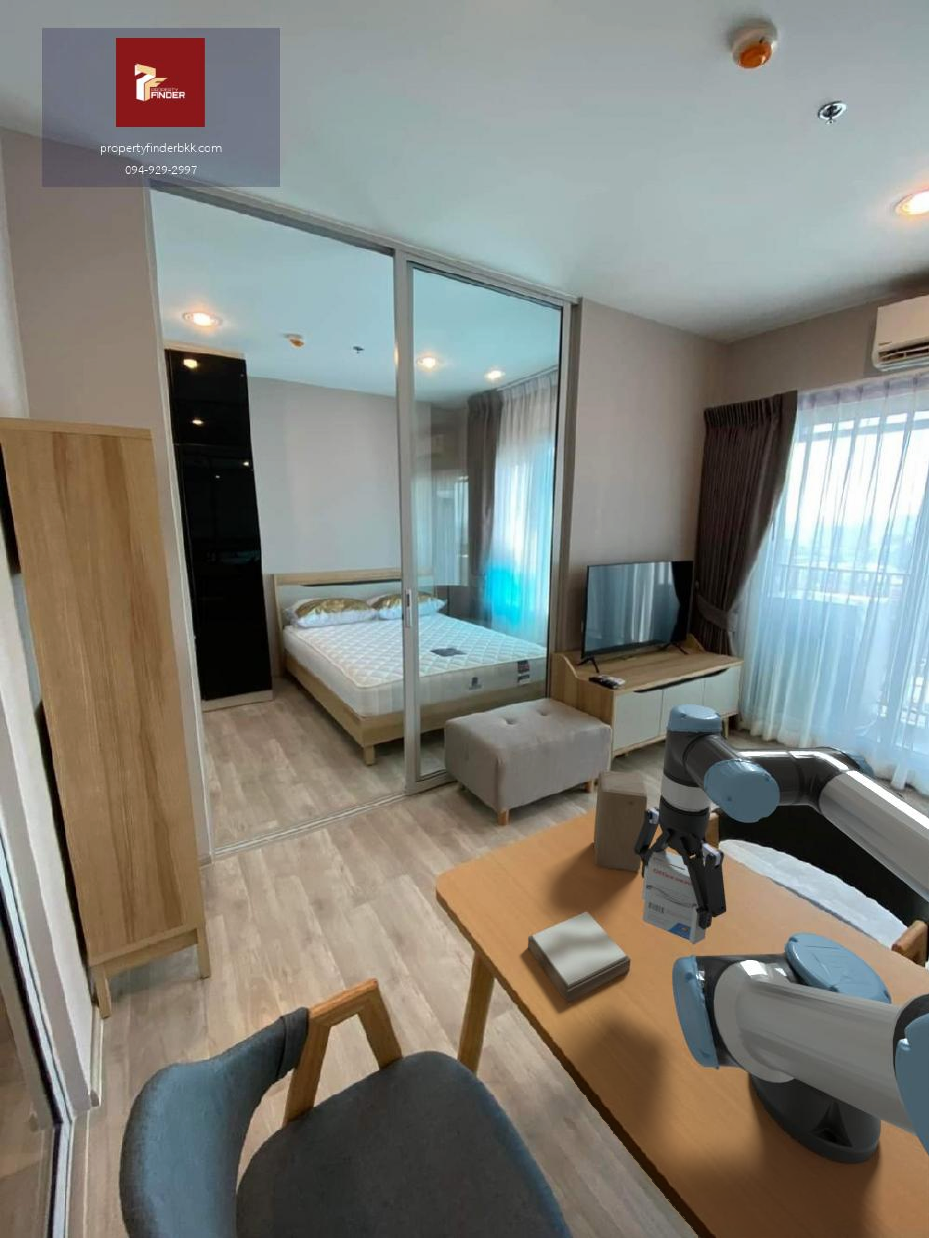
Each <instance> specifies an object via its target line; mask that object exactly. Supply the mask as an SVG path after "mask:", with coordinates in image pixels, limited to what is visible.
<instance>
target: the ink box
mask: <svg viewBox="0 0 929 1238" xmlns="http://www.w3.org/2000/svg"><path fill="white" fill-rule="evenodd" d="M704 866H705V864H704ZM696 905H698V904H697V900H696V896H695V893H694V889H693V886H692V882H691V879H690V875H689V872H688V868H687V866H686V865H684V863H683V859H682V856H681V855H679V854H676V853H672V852H670V851H667V850H665V851H664V850H662V851H660V852H657V853H656V852H653V853H652V855H651V857H650V860H649V862H648V873H647V883H646V893H645V900H644V904H643V915H642V921H643V922H644V923H647V924H648V925H651V926H654V927H656V928H658V929H660V930H664V931H666V932H667V933H670V934H673V935H675V936H678V937H680V938H682V939H686V940H687V941H689V939H690V931H691V923H692V915H693V907H694V906H696Z"/></svg>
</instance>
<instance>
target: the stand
mask: <svg viewBox="0 0 929 1238" xmlns="http://www.w3.org/2000/svg"><path fill="white" fill-rule="evenodd" d="M527 948H528V949H530V950H529V951H530V953H531V954H532V955H533V957H534V956H535V957H534V958H535V959H536V961H537V962H538V964H539V965H540V967H541V968H542V970H543V971H544V972H545V974H546V976H547V977H548V978H549V980H550V981H551V983H552V984H553V985H554V987H555V988H556V989H557V991H558V992H559V994H560V995H561V996H562V998H563V999H564V1002H565V1003H567V1004H568V1003H570V1002H572V1001H574V1000H575V999H578V998H579V997H582V996H583V995H585V994H587V993H589V992H591V991H592V990H595V989H596V988H599V987H601V986H602V985H604V984H607V983H608V982H609V981H612V980H614V979H616V978H618V977H619V976H621V975H623V974H625V973H627V972H629V971H630V968H631V961H632V960H631V958H630V957H629V956H628V955H627V954H626V952H625V951H624V950H623V949H622V948H621V947H620V946H619V945H618V944H617V942H616V941H614V939H613V938H612V937H611V936H610V935H609V934H608V933H607V932H606V931H605V930H604V928H603V927H602V926H601V925H600V924H599V923H598V922H597V920H595V919H594V918H593V916H592V915H591V914H590V913H589V912H588V910H587V911H584V912H582V913H579V914H577V915H575V916H572V917H570V918H569V919H566V920H564V921H562V922H559V923H557V924H555V925H552V926H550V927H548V928H545V929H543V930H541V931H539V932H536V933H533V934H531V935H529V936H528V939H527Z"/></svg>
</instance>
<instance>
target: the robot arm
mask: <svg viewBox="0 0 929 1238" xmlns="http://www.w3.org/2000/svg"><path fill="white" fill-rule="evenodd" d="M722 721H723V720H722V716H721V714H720V713H719V712H718V711H716V710H715V709H713V708H711V707H708V706H704V705H701V704H694V703H681V704H677V705H675V706H673V707H672V708H671V709H670V711H669V717H668V722H667V726H666V728H665V729H666V733H665V736H666V737H665V744H664V745H665V746H664V747H665V748H664V757H663V758H664V759H663V768H662V774H661V784H660V785H661V786H660V797H659V804H658V806H654V807H651V808H649V809H646V811H645V812H644V823H643V826H642V829H641V831H640V834H639V837H638V839H637V842H636V845H635V847H634V853H635V854H636V855H639V856H640V857H641V864H642V865H641V872H640V873H641V878H642V879H643V883H642V891H641V892H642V893H641V899H642V900H643V901H645V893H646V883H647V873H648V862H649V860H650V857H651V855H652V853H653V852H656V853H657V852H660V851H662V850H664V851H667V850H668V848H670V849H671V850H674V851H675V852H676V853H677V855H679V856H681V857H682V859H683V863H684V865H686V866H687V868H688V872H689V875H690V879H691V882H692V886H693V889H694V893H695V896H696V900H697V904H698V905H696V906H694V907H693V915H692V923H691V931H690V939H689V940H688V941H689V943H691V945H695V944H698V943H699V942H701V941H703V940H704V939H705V938H706V933H707V932H706V931H707V929H708V928H710V927H711V926H712V921H713V919H714V918H716V917H719V916H721V915H722V914H725V913H727V901H726V894H725V893H726V892H725V884H724V883H725V882H724V874H723V862H724V857H725V854H724V851H722V850H721V849H717V850H715V849H714V848H713V847H711V846H710V845H709V844H708V839H707V837H706V833H707V831H708V828H709V825H710V817H711V811H712V807H711V805H712V803H713V804H714V805H715V806H717V807H719V808H720V809H721V810H722V811H724V812H725V813H726V814H727V816H729V817H730V818H732V819H734V820H736V821H737V822H742V823H756V822H759V820H761V819H763V818H768V817H769V816H771V814H773V812H774V811H775V810H776V808H777V807H778V806H810V807H811V808H813V809H814V810H815V811H816V812H817V813H819V814H821V816H823V817H824V818H826V819H827V820H828V821H829V822H831V823H832V824H833V825H834V826H835V827H837V828H838V829H839V830H840V831H841V832H842V833H844V834H845V835H846V836H848V837H849V838H850V839H851V840H852V841H853V842H854V843H856V844H857V845H858V846H859V847H861V849H863V850H864V851H866V852H867V853H868V854H870V856H872V857H873V858H874V859H875V860H877V862H879V863H880V864H882V865H883V866H884V867H885V868H886V869H888V870H889V871H890V872H891V873H892V874H894V875H895V876H896V877H897V878H899V879H900V880H902V881H903V882H904V883H905V884H907V886H908V887H910V888H911V889H912V890H914V891H915V892H916V893H917V894H918V895H919V896H920V897H922V898H923V899H924V900H925V901H927V902H928V903H929V813H927V812H925V810H922V809H921V808H919V807H918V806H916V805H915V804H913V803H911V802H909V800H907V799H905V798H903V797H902V796H900V795H899V794H897V793H895V792H894V791H892V790H891V789H889V788H888V787H886V786H884V785H883V784H881V783H880V782H878V781H877V779H876V777H877V776H876V774H875V771H874V769H873V767H872V765H870V764H869V763H868V762H867V760H866V758H865V756H863V755H862V754H860V752H858V751H856V750H853V749H851V748H845V747H844V748H843V747H833V746H825V745H821V746H816V747H779V748H775V747H774V748H773V747H771V748H767V747H766V748H763V747H761V748H753V747H752V748H739V747H736V746H734V745H733V744H732V743H731V742H730V741H728V740H726V738H724V737H723V736H722V735H721V733H722V731H723V724H722V723H723V722H722ZM659 826H660V830H661V834H660V835H659V836H658V837H657V838H656V839H655V841H654V838H655V835H656V832H657V829H658V827H659ZM653 841H654V843H653ZM652 843H653V844H652ZM651 844H652V845H651ZM704 865H705V866H704ZM672 965H673V966H672V971H671V984H672V992H673V993H672V994H673V999H674V1004H675V1011H676V1013H677V1018H678V1022H679V1025H680V1028H681V1031H682V1034H683V1037H684V1040H685V1043H686V1045H687V1048H688V1051H689V1052H690V1054H691V1056H692V1057H693V1059H694V1060H695V1061H696V1063H697V1064H699V1065H700V1067H704V1068H712V1069H713V1068H714V1069H715V1070H717V1071H718V1070H720V1067H721V1068H722V1067H724V1068H738V1069H741V1070H744V1071H746V1072H748V1073H749V1074H750V1078H751V1082H752V1084H753V1087H754V1090H755V1093H756V1094H757V1095H758V1097H759V1100H760V1101H761V1103H762V1105H763V1107H765V1109H766V1111H767V1112H768V1113H769V1115H771V1117H772V1119H774V1120H775V1122H776V1123H777V1124H778V1125H779V1126H780V1127H781V1128H782V1129H783V1130H784V1131H785V1133H787V1134H788V1135H789V1136H790V1137H791V1138H793V1139H794V1140H795V1141H797V1142H798V1143H799V1144H800V1145H802V1146H804V1147H805V1148H807V1149H808V1150H810V1151H811V1152H813V1153H815V1154H817V1155H819V1156H821V1157H824V1158H825V1159H829V1160H831V1161H835V1162H837V1163H838V1162H839V1163H842V1164H843V1163H844V1164H857V1163H858V1164H859V1163H862V1162H865V1161H867V1160H868V1159H870V1158H871V1157H872V1156H873V1155H874V1153H875V1152H876V1150H877V1148H878V1145H879V1141H880V1137H881V1132H882V1122H883V1121H884V1122H885V1123H888V1124H890V1125H891V1126H894V1127H895V1128H897V1129H900V1130H902V1131H904V1132H906V1133H908V1134H909V1135H912V1136H915V1137H917V1138H918V1141H919V1142H920V1144H921V1145H922V1147H923V1148H924V1151H925V1152H926V1154H927V1155H928V1157H929V992H925V993H921V994H918V995H915V996H914V997H911V998H910V999H909V1000H908V1001H906V1002H905V1003H904V1004H903V1005H898V1004H893V1001H892V997H891V994H890V991H889V989H888V987H887V985H886V983H885V982H884V980H883V979H882V978H881V977H880V975H879V974H878V973H877V971H875V969H874V968H873V967H872V966H871V965H870V964H868V963H867V961H865V960H864V959H863V958H861V957H860V956H859V955H858V954H856V952H853V951H852V950H850V949H849V948H847V947H846V946H844V945H842V944H840V943H839V942H837V941H835V940H833V939H830V938H828V937H825V936H822V935H820V934H816V933H810V932H797V933H793V934H792V935H791V936H789V939H788V940H787V941H786V943H785V944H784V952H781V953H754V954H726V955H725V954H720V955H718V954H716V955H695V954H690V956H682V957H679V958H677V959H676V960H675V961H674V963H673V964H672Z"/></svg>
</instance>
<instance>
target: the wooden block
mask: <svg viewBox="0 0 929 1238" xmlns="http://www.w3.org/2000/svg"><path fill="white" fill-rule="evenodd" d="M596 793H597V794H596V807H595V818H594V820H595V821H594V831H593V846H594V860H595V863H596V865H597V866H598V867H600V868H608V869H616V870H621V871H627V872H628V871H629V872H635V873H636V872H640V869H641V866H642V865H641V864H642V861H641V857H640V856H639V855H636V854H635V853H634V847H635V845H636V842H637V839H638V837H639V834H640V831H641V829H642V826H643V823H644V812H645V811H646V810H647V806H648V794H647V791H646V787H645V784H644V780H643V778H642V775H641V774H639V773H631V772H621V771H611V770H600V772H599V773H598V779H597V792H596Z"/></svg>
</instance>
